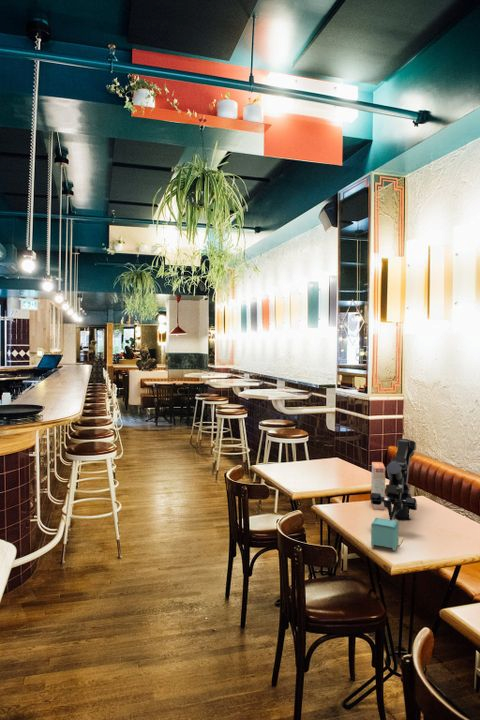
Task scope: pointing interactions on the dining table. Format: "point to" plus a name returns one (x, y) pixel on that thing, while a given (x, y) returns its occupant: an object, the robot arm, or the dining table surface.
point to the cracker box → (378, 482)
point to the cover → (385, 533)
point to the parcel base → (400, 541)
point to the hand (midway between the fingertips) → (390, 519)
